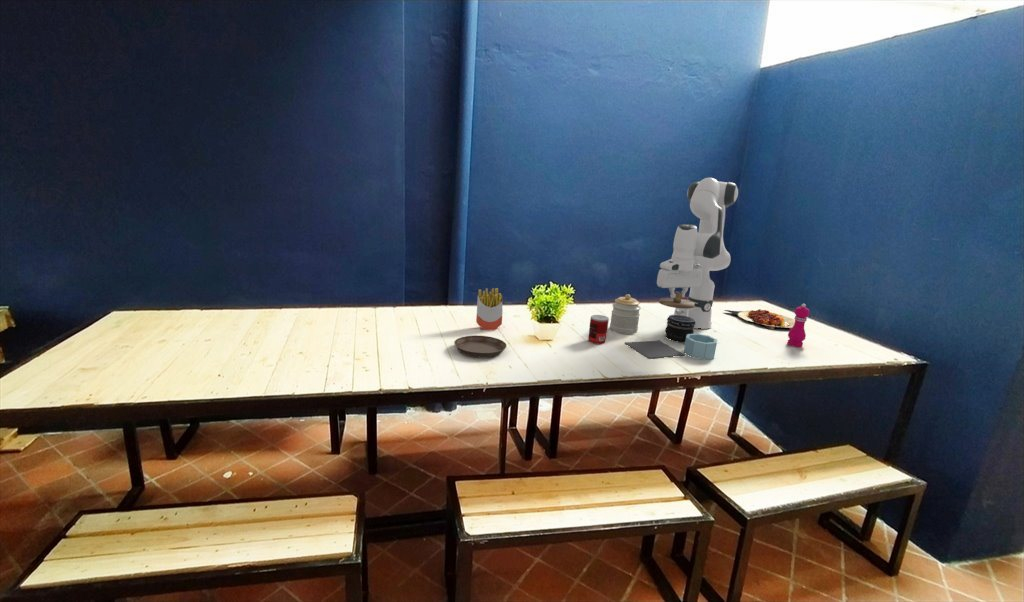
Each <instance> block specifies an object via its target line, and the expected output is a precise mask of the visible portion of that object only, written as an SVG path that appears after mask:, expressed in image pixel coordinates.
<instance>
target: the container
mask: <svg viewBox="0 0 1024 602" xmlns="http://www.w3.org/2000/svg"><path fill="white" fill-rule="evenodd" d="M669 315H670V316H669ZM669 315H668V316H667V319H666V320H667V322H666V327H665V330H664V333H665V337H667V338H668V340H669V339H671V340H670V341H672V340H673V341H672V342H676V341H678V342H677V343H682V342H683V343H685V340H686V336H687V334H695V333H694V329H695V328H694V325H695V324H696V322H695V320H694V319H692V318H690V317H687V316H681V315H673V314H669ZM667 338H666V339H667Z"/></svg>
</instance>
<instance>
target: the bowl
mask: <svg viewBox="0 0 1024 602" xmlns="http://www.w3.org/2000/svg"><path fill="white" fill-rule="evenodd" d="M717 344H718V339H717V338H715V337H713V336H710V335H706V334H703V333H702V334H701V333H694V334H687V336H686V340H685V342H684V348H683V352H684V353H683V354H685V353H686V354H687V356H688V355H689V356H688V357H690V356H691V357H690V358H693V357H694V359H698V358H699V359H698V360H703V359H707V360H714V359H715V357H716V356H715V355H716V351H717ZM686 354H685V355H686Z"/></svg>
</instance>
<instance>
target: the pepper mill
mask: <svg viewBox="0 0 1024 602" xmlns="http://www.w3.org/2000/svg"><path fill="white" fill-rule="evenodd" d="M806 306H807V305H806V304H805V303H802V304H801V305H800V306H798V307H796V308H795V309H794V318H793V319H794V320H795V323H794V326H793V327H792V328H790V329H789V331H788V334H787V338H788V339H787V345H789V346H791V347H796V348H802V347H803V345H804V341H806V336H807V335H806V329H805V323H806V322H807V320H808V317H809V316H810V313H811V312H810V310H809V308H807V307H806Z"/></svg>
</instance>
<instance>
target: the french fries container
mask: <svg viewBox="0 0 1024 602" xmlns="http://www.w3.org/2000/svg"><path fill="white" fill-rule="evenodd" d="M503 297H504V296H503V295H502V294H501V293H499V288H498V287H497V288H492V289H491V291H488V288H485V290H483V291H482V289H478V295H477V302H476V303H477V304H476V317H475V318H476V321H475V323H476V324H477V325H478V327H480V328H481V329H483V331H489V330H492V331H495V330H497V329H499V328H500V326H502V325H503V324H502V323H503Z"/></svg>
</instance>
